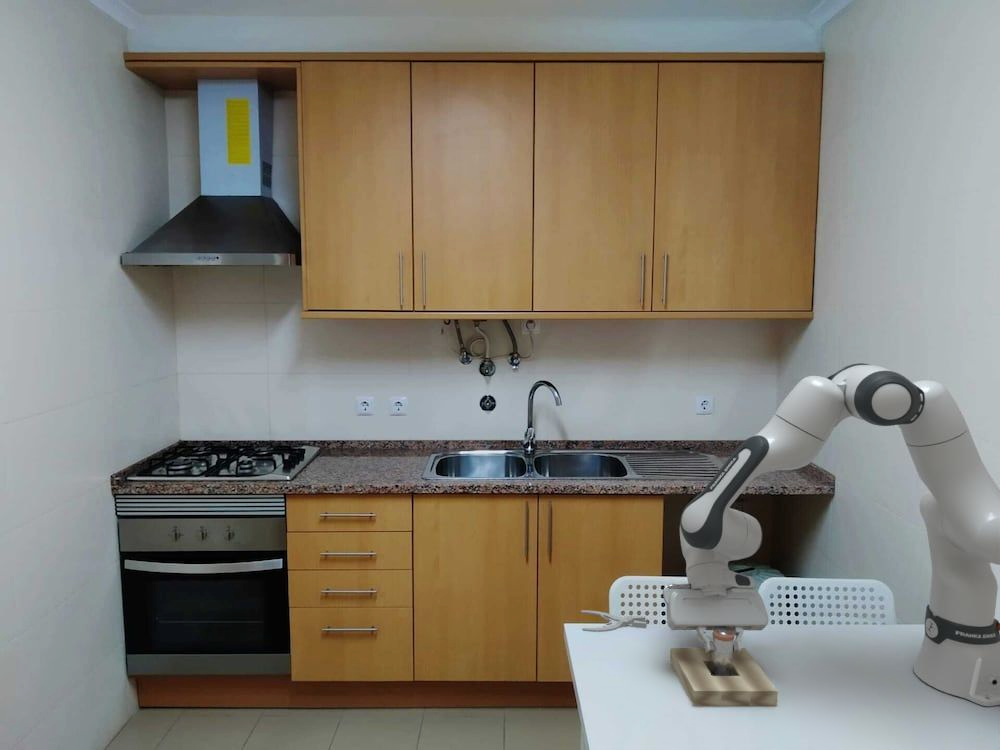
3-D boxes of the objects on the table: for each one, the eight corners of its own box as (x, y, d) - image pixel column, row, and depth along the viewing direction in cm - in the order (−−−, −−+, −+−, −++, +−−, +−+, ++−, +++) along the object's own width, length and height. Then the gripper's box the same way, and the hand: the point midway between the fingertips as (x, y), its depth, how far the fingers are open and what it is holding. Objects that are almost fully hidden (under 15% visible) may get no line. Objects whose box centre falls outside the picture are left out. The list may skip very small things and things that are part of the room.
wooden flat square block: (743, 661, 147) (744, 647, 147) (776, 705, 131) (777, 691, 131) (669, 660, 147) (670, 647, 146) (693, 705, 131) (694, 691, 130)
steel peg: (727, 667, 141) (730, 625, 140) (734, 678, 137) (737, 635, 136) (707, 667, 141) (710, 625, 140) (714, 678, 137) (717, 635, 136)
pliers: (581, 606, 168) (643, 610, 167) (580, 612, 169) (643, 616, 167) (582, 625, 159) (648, 629, 157) (582, 632, 159) (648, 636, 158)
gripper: (664, 578, 143) (676, 646, 135) (761, 578, 144) (779, 646, 135) (658, 589, 148) (668, 656, 140) (751, 589, 149) (767, 656, 140)
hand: (723, 651), depth 138 cm, fingers closed on steel peg, 4 cm apart
